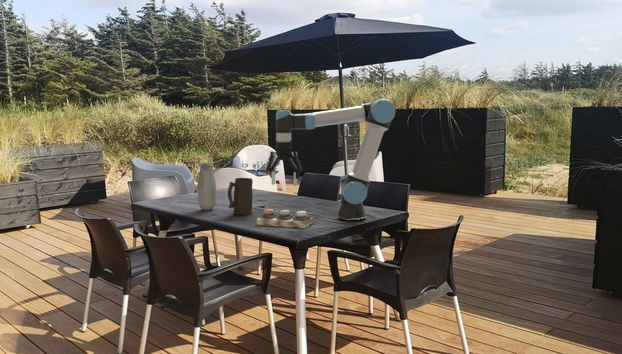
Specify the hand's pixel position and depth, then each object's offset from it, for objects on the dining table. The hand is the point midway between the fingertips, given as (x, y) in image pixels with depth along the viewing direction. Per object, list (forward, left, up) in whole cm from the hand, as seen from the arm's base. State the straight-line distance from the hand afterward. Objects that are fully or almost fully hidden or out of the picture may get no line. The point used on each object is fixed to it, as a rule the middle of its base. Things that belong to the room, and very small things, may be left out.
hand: (284, 184), depth 258 cm
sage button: (0, 0, -15) cm, 15 cm away
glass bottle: (+59, -23, -20) cm, 66 cm away
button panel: (0, 0, -20) cm, 20 cm away
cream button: (-9, 0, -15) cm, 18 cm away
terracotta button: (+9, 0, -15) cm, 18 cm away
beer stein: (+34, -17, -20) cm, 43 cm away
